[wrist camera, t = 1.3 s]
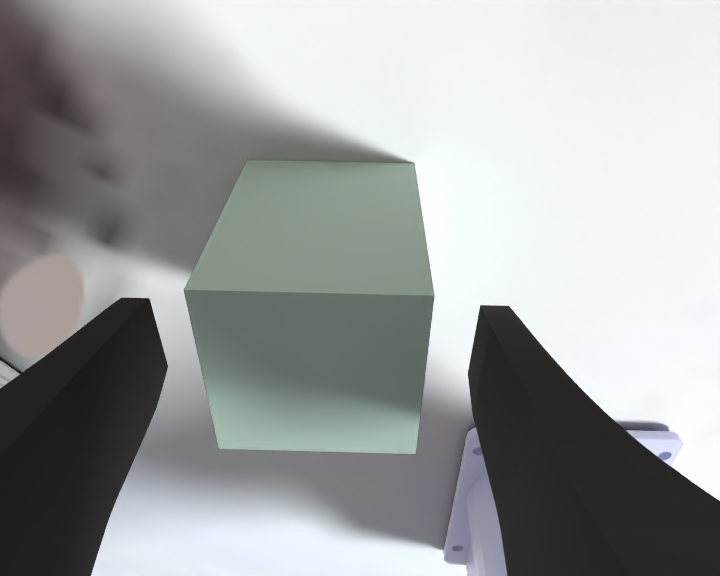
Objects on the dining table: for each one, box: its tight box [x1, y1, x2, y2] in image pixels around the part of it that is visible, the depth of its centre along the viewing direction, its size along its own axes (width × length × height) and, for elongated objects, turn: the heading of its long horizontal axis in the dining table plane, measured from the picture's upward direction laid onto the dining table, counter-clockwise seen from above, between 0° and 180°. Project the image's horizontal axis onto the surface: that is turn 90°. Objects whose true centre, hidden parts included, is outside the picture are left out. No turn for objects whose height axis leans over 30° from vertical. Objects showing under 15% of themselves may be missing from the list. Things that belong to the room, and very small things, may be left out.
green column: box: [184, 160, 434, 454], centre depth 13 cm, size 4×4×6 cm
